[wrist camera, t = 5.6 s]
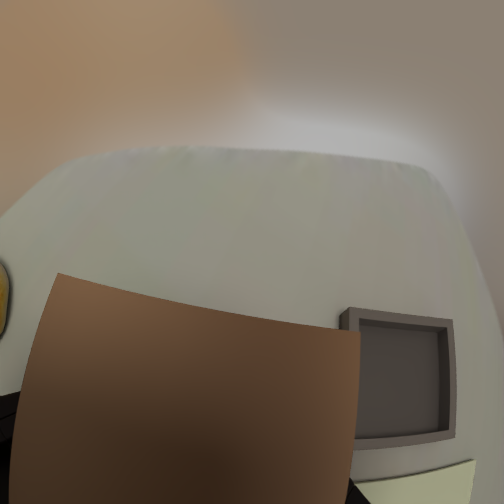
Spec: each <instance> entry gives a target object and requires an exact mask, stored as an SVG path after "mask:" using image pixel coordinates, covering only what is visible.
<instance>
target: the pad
mask: <svg viewBox="0 0 504 504" xmlns="http://www.w3.org/2000/svg"><path fill="white" fill-rule="evenodd" d="M475 465H476V459H475V460H469V461H465V462H462V463H459V464H455V465H452V466H448V467H444V468H440V469H436V470H432V471H427V472H423V473H418V474H413V475H407V476H402V477H396V478H389V479H382V480H374V481H365V482H354V485H356V486H357V487H358V489H359V490H360V491H361V492H362V494H363V495H364V496H365V497H366V498H367V499H368V501H369V502H370V503H371V504H469V501H470V496H471V490H472V485H473V479H474V472H475Z"/></svg>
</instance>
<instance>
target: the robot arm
mask: <svg viewBox="0 0 504 504" xmlns="http://www.w3.org/2000/svg"><path fill="white" fill-rule="evenodd" d="M20 392H21V391H19V392H15V393H11V394H8V395H4V396H0V504H9V474H10V460H11V449H12V440H13V433H14V426H15V419H16V413H17V408H18V402H19V397H20ZM345 504H371V503H370V502H369V501H368V499H367V498H366V497H365V496H364V495H363V494H362V492H361V491H360V490H359V489H358V487H357V486H356V485H354V482H353V481H352V480H351V478H350V477H349V483H348V489H347V494H346V500H345Z"/></svg>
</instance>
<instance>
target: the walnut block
mask: <svg viewBox="0 0 504 504" xmlns="http://www.w3.org/2000/svg"><path fill="white" fill-rule="evenodd" d="M360 337H361V332H356V331H347V330H339V329H331V328H323V327H316V326H309V325H302V324H295V323H288V322H282V321H275V320H269V319H263V318H257V317H251V316H245V315H240V314H234V313H229V312H223V311H218V310H213V309H207V308H202V307H197V306H192V305H188V304H183V303H178V302H173V301H169V300H164V299H160V298H155V297H151V296H146V295H142V294H138V293H133V292H129V291H125V290H121V289H117V288H113V287H109V286H105V285H101V284H97V283H93V282H90V281H86V280H82V279H78V278H75V277H71V276H68V275H64V274H60V273H58V274H57V277H56V279H55V281H54V284H53V286H52V289H51V292H50V294H49V297H48V300H47V302H46V305H45V308H44V311H43V314H42V316H41V319H40V322H39V325H38V329H37V332H36V335H35V338H34V341H33V345H32V348H31V352H30V355H29V359H28V363H27V367H26V371H25V375H24V379H23V383H22V388H21V392H20V397H19V402H18V408H17V413H16V419H15V426H14V433H13V440H12V449H11V460H10V474H9V504H345V500H346V494H347V489H348V483H349V476H350V469H351V462H352V455H353V447H354V438H355V428H356V418H357V406H358V391H359V372H360Z"/></svg>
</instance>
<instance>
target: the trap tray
mask: <svg viewBox="0 0 504 504" xmlns="http://www.w3.org/2000/svg"><path fill="white" fill-rule="evenodd" d="M339 330H347V331H356V332H361V337H360V372H359V391H358V406H357V418H356V428H355V438H354V447H353V450H368V449H381V448H392V447H402V446H410V445H417V444H424V443H430V442H436V441H441V440H447V439H451V438H455V428H456V400H457V385H456V356H455V342H454V330H453V321H452V319H443V318H433V317H425V316H416V315H408V314H400V313H392V312H384V311H376V310H369V309H362V308H354V307H349V308H348V309H347V310H346V311H344V312H343V313H342V314H341V315H340V327H339Z"/></svg>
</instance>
